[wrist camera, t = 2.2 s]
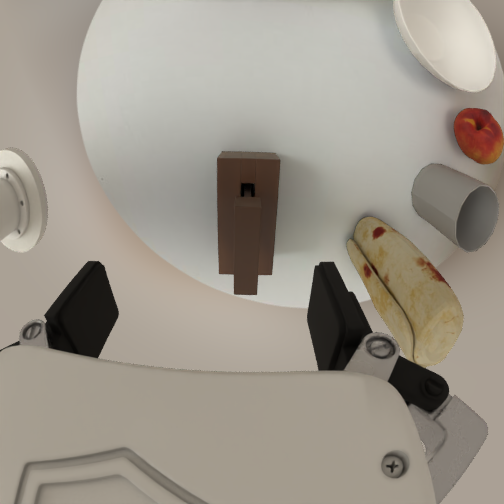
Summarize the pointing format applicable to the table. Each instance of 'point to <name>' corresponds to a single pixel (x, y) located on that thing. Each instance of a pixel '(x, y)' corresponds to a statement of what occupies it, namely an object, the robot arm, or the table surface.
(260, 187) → the knife block
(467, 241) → the cup
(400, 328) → the food model
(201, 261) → the table surface
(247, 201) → the knife
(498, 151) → the fruit
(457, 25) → the bowl
